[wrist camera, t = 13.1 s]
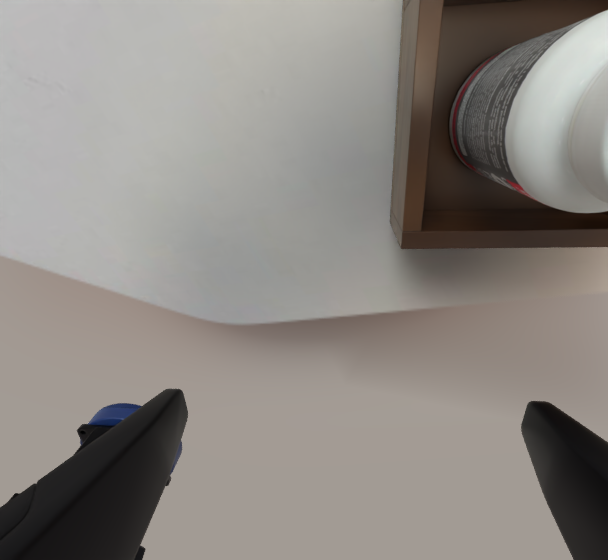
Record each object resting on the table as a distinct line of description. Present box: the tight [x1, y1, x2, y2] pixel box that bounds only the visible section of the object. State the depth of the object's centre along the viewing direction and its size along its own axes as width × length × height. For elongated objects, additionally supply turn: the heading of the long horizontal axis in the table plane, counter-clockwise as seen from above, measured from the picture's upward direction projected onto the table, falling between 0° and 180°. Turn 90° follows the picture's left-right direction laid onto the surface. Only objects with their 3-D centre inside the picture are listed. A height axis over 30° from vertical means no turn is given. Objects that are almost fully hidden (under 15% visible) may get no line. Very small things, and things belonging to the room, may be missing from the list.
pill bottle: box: [449, 10, 608, 213], centre depth 12 cm, size 5×5×10 cm
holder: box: [390, 0, 608, 249], centre depth 15 cm, size 10×10×4 cm
